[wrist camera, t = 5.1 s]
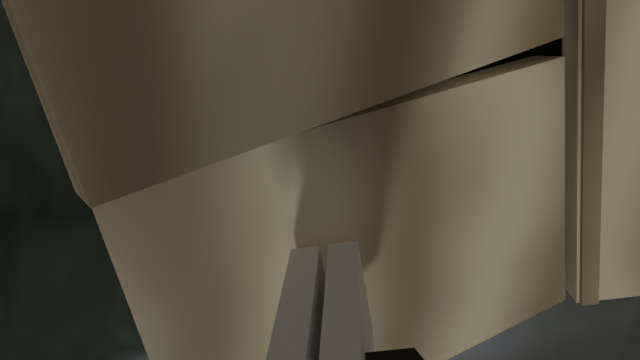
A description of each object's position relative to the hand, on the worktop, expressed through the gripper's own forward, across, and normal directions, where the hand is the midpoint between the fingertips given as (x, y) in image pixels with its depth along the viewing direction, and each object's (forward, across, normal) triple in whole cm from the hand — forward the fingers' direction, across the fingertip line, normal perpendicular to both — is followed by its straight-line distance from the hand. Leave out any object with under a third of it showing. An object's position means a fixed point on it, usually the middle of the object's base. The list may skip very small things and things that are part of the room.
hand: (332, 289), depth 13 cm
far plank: (+3, +1, 0) cm, 3 cm away
